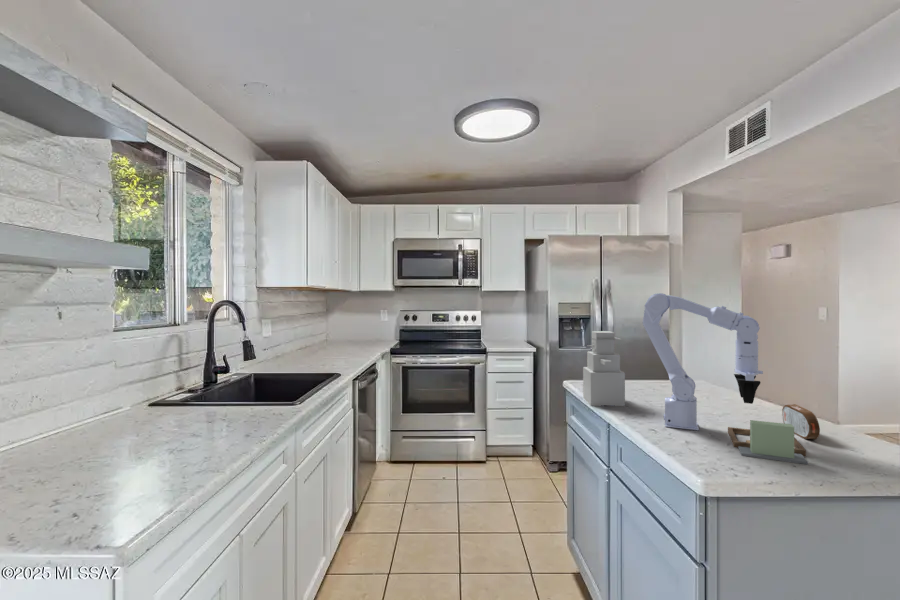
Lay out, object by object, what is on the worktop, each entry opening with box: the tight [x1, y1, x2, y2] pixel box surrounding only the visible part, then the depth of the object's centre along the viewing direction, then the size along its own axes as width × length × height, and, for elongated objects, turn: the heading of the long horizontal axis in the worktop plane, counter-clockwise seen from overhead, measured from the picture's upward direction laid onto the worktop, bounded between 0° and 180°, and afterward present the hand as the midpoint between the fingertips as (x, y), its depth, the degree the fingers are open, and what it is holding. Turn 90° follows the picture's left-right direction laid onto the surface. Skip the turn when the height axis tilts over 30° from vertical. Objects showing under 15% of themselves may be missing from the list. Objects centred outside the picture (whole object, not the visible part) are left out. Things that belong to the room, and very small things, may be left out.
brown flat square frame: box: [727, 426, 807, 457], centre depth 125 cm, size 16×15×2 cm
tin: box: [781, 403, 821, 441], centre depth 132 cm, size 15×3×8 cm, turn 168°
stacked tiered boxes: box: [582, 330, 626, 407], centre depth 175 cm, size 13×24×28 cm, turn 175°
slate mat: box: [737, 446, 809, 465], centre depth 116 cm, size 14×6×1 cm, turn 63°
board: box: [749, 420, 795, 458], centre depth 116 cm, size 9×3×8 cm, turn 63°
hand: (746, 400), depth 133 cm, fingers open, 7 cm apart
